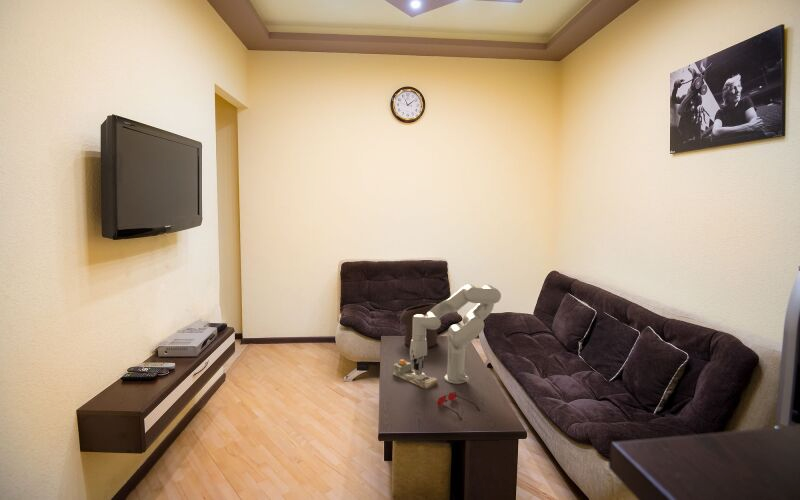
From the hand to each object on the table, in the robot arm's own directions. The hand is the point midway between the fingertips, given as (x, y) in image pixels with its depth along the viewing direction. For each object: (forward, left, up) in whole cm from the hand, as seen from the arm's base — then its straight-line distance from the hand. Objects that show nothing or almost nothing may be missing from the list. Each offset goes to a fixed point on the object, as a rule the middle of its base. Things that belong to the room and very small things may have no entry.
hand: (418, 368), depth 227 cm
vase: (+45, -47, -7) cm, 66 cm away
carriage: (0, 0, -6) cm, 6 cm away
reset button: (+13, 0, -2) cm, 13 cm away
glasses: (-35, +9, -8) cm, 37 cm away
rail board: (+3, 0, -7) cm, 8 cm away
